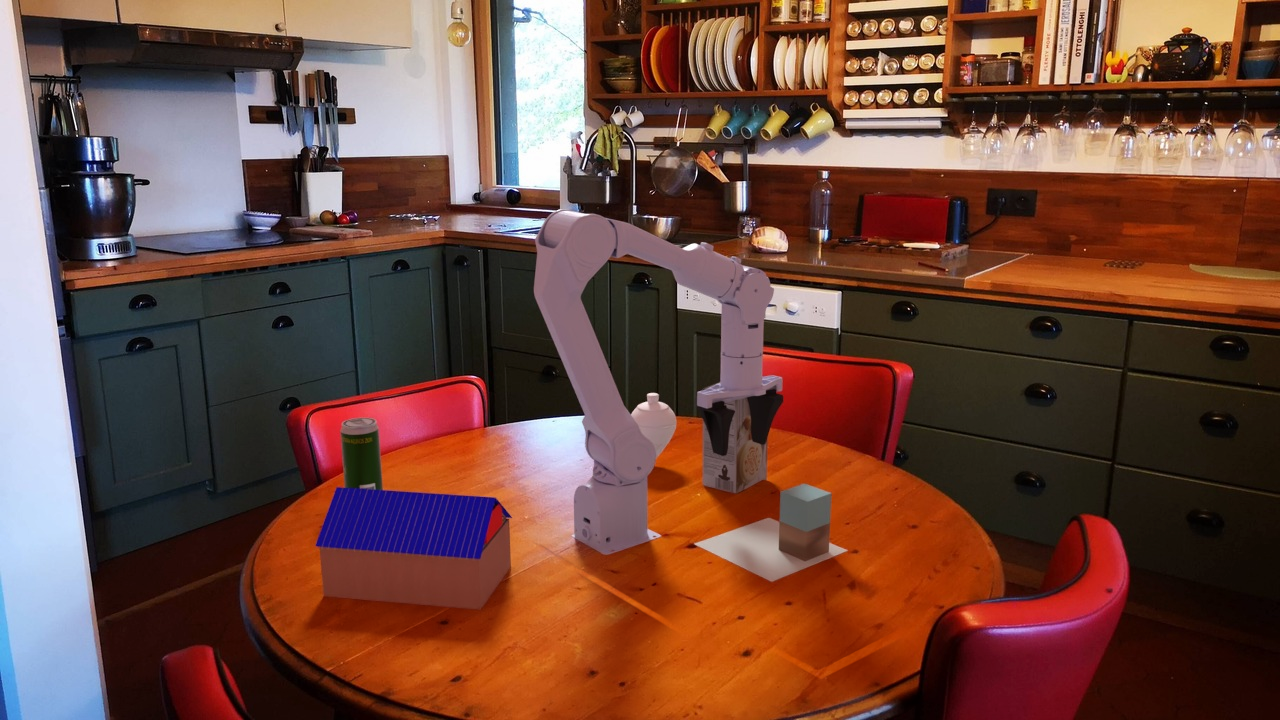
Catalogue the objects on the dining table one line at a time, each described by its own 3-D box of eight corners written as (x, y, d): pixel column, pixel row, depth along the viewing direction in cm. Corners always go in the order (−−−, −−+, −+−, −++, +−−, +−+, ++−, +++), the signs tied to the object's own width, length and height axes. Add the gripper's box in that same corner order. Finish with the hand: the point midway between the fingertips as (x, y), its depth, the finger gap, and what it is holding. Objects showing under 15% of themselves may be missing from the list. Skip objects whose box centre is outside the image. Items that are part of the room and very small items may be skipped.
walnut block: (804, 561, 121) (806, 531, 120) (778, 549, 124) (779, 520, 123) (828, 551, 124) (830, 522, 123) (802, 540, 127) (803, 512, 126)
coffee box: (732, 472, 154) (734, 374, 151) (767, 480, 151) (770, 381, 147) (700, 488, 147) (701, 387, 144) (736, 498, 144) (738, 393, 140)
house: (365, 555, 125) (359, 470, 122) (514, 567, 121) (511, 479, 119) (319, 598, 113) (311, 505, 111) (482, 613, 110) (478, 517, 107)
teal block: (806, 531, 120) (807, 501, 119) (779, 521, 123) (780, 491, 122) (830, 522, 123) (831, 493, 122) (803, 512, 126) (804, 483, 125)
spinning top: (622, 461, 160) (621, 391, 157) (663, 454, 163) (663, 385, 160) (641, 475, 153) (641, 402, 150) (684, 468, 156) (685, 396, 153)
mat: (771, 586, 116) (771, 581, 116) (693, 548, 126) (693, 543, 126) (847, 554, 124) (847, 550, 124) (768, 521, 135) (768, 517, 135)
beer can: (389, 500, 143) (384, 423, 140) (354, 509, 140) (348, 430, 137) (374, 490, 147) (368, 415, 144) (340, 499, 144) (333, 421, 141)
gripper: (723, 366, 124) (721, 466, 128) (799, 350, 133) (796, 444, 136) (687, 357, 130) (686, 453, 133) (763, 342, 139) (760, 433, 142)
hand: (739, 448), depth 135 cm, fingers open, 7 cm apart
